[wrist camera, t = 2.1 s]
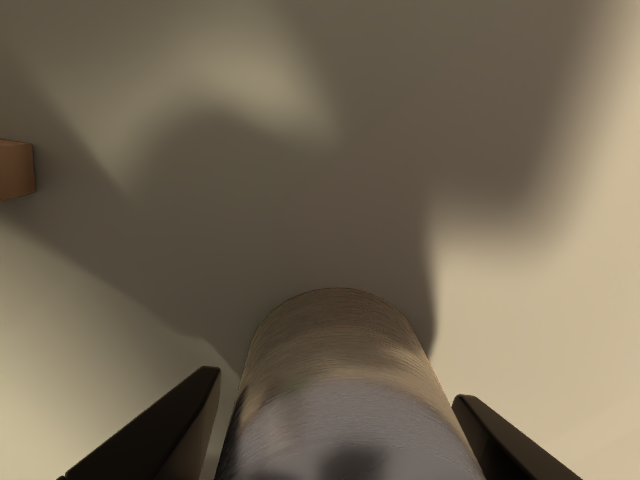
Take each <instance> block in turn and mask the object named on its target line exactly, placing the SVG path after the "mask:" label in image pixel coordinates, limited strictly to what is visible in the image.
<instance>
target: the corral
mask: <svg viewBox="0 0 640 480" xmlns="http://www.w3.org/2000/svg"><path fill="white" fill-rule="evenodd" d="M34 192H36V188H35V176H34V164H33V151H32V144H29V143H23V142H16V141H9V140H2V139H0V201H4V200H7V199H11V198H15V197H19V196H23V195H26V194H30V193H34Z"/></svg>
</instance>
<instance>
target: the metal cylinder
mask: <svg viewBox="0 0 640 480" xmlns="http://www.w3.org/2000/svg"><path fill="white" fill-rule="evenodd" d="M214 480H486V477H485V475H484V473H483V471H482V469H481V467H480V465H479V463H478V461H477V459H476V457H475V455H474V453H473V451H472V449H471V447H470V445H469V443H468V441H467V439H466V437H465V434H464V432H463V430H462V428H461V426H460V424H459V422H458V420H457V418H456V416H455V414H454V412H453V410H452V408H451V406H450V404H449V402H448V400H447V398H446V396H445V394H444V391H443V389H442V387H441V385H440V383H439V381H438V379H437V377H436V375H435V373H434V371H433V369H432V367H431V365H430V363H429V361H428V359H427V357H426V355H425V353H424V351H423V349H422V346H421V344H420V342H419V340H418V338H417V336H416V334H415V332H414V330H413V328H412V327H411V325H410V324H409V322H408V320H407V319H406V318H405V317H404V316H403V315H402V314H401V312H399V311H398V310H397V309H396V308H395V307H394V306H392V305H391V304H389V303H388V302H386V301H385V300H383V299H381V298H379V297H377V296H375V295H373V294H370V293H367V292H364V291H360V290H355V289H349V288H324V289H319V290H313V291H310V292H306V293H303V294H300V295H298V296H296V297H293V298H291V299H289V300H288V301H286V302H284V303H283V304H281V305H280V306H278V307H277V308H276V309H275V310H273V311H272V312H271V313H270V314H269V315H268V316H267V317H266V318H265V319H264V321H263V322H262V323H261V325H260V326H259V327H258V329H257V331H256V333H255V335H254V337H253V339H252V342H251V345H250V348H249V352H248V355H247V359H246V363H245V366H244V370H243V374H242V377H241V381H240V385H239V389H238V392H237V396H236V400H235V403H234V407H233V411H232V415H231V418H230V422H229V426H228V429H227V433H226V437H225V441H224V444H223V448H222V452H221V455H220V459H219V463H218V467H217V470H216V474H215V478H214Z"/></svg>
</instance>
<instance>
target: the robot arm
mask: <svg viewBox="0 0 640 480" xmlns="http://www.w3.org/2000/svg"><path fill="white" fill-rule="evenodd" d="M220 381H221V369H220V368H219V367H211V366H202V367H200V368H199V369H198V370H196V371H195V372H194V373H192V374H191V375H190V376H189V377H187V378H186V379H185V380H183V381H182V382H181V383H180V384H178V385H177V386H176V387H174V388H173V389H172V390H171V391H169V392H168V393H167V394H165V395H164V396H163V397H162V398H160V399H159V400H158V401H156V402H155V403H154V404H153V405H151V406H150V407H149V408H148V409H146V410H145V411H144V412H142V413H141V414H140V415H139V416H137V417H136V418H135V419H133V420H132V421H131V422H130V423H128V424H127V425H126V426H124V427H123V428H122V429H121V430H119V431H118V432H117V433H115V434H114V435H113V436H112V437H110V438H109V439H108V440H106V441H105V442H104V443H103V444H101V445H100V446H99V447H97V448H96V449H95V450H94V451H92V452H91V453H90V454H89V455H87V456H86V457H85V458H83V459H82V460H81V461H80V462H78V463H77V464H76V465H74V466H73V467H72V468H71V469H69V470H68V471H67V472H66V473H65V476H60V477H59V478H57V479H56V480H199V477H200V474H201V470H202V467H203V463H204V459H205V455H206V451H207V447H208V443H209V439H210V435H211V431H212V427H213V423H214V420H215V416H216V412H217V408H218V402H219V393H220ZM451 408H452V410H453V412H454V414H455V416H456V418H457V420H458V422H459V424H460V426H461V428H462V430H463V432H464V434H465V437H466V439H467V441H468V443H469V445H470V447H471V449H472V451H473V453H474V455H475V457H476V459H477V461H478V463H479V465H480V467H481V469H482V471H483V473H484V475H485V477H486V480H583V479H581V478H580V477H579V476H577V475H576V474H575V473H574V472H572V471H571V470H570V469H568V468H567V467H566V466H565V465H563V464H562V463H561V462H559V461H558V460H557V459H556V458H554V457H553V456H552V455H550V454H549V453H548V452H547V451H545V450H544V449H543V448H541V447H540V446H539V445H537V444H536V443H535V442H534V441H532V440H531V439H530V438H528V437H527V436H526V435H525V434H523V433H522V432H521V431H519V430H518V429H517V428H516V427H514V426H513V425H512V424H510V423H509V422H508V421H507V420H505V419H504V418H503V417H501V416H500V415H499V414H498V413H496V412H495V411H494V410H492V409H491V408H490V407H489V406H487V405H486V404H485V403H483V402H482V401H481V400H479V399H478V398H477V397H475V396H472V395H463V394H459V395H457V396H456V397H455V398H454V401H453V404H452V407H451Z"/></svg>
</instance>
